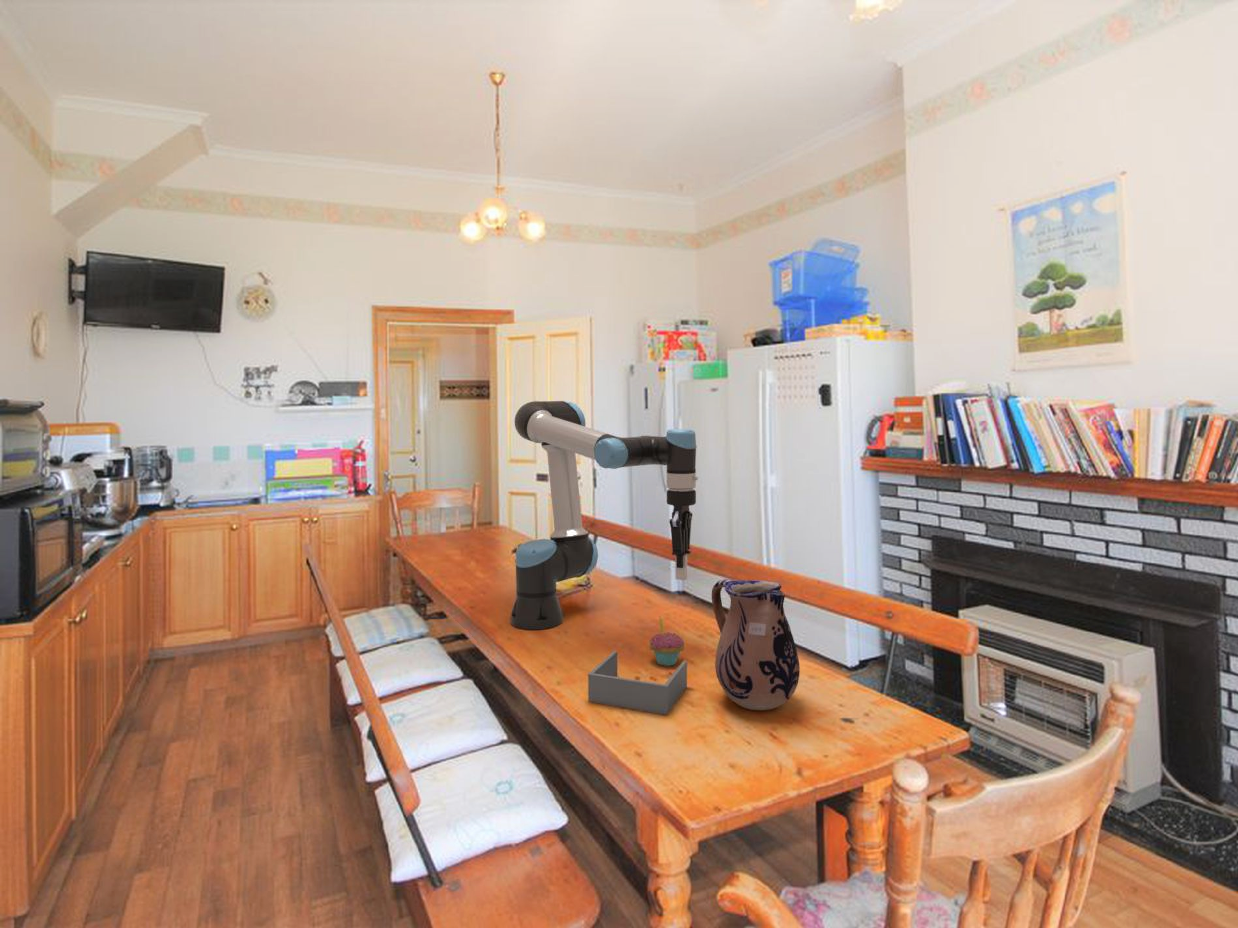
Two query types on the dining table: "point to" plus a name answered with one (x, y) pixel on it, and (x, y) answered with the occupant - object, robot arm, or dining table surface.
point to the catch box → (634, 688)
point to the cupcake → (666, 647)
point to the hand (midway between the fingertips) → (681, 579)
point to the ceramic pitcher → (755, 645)
